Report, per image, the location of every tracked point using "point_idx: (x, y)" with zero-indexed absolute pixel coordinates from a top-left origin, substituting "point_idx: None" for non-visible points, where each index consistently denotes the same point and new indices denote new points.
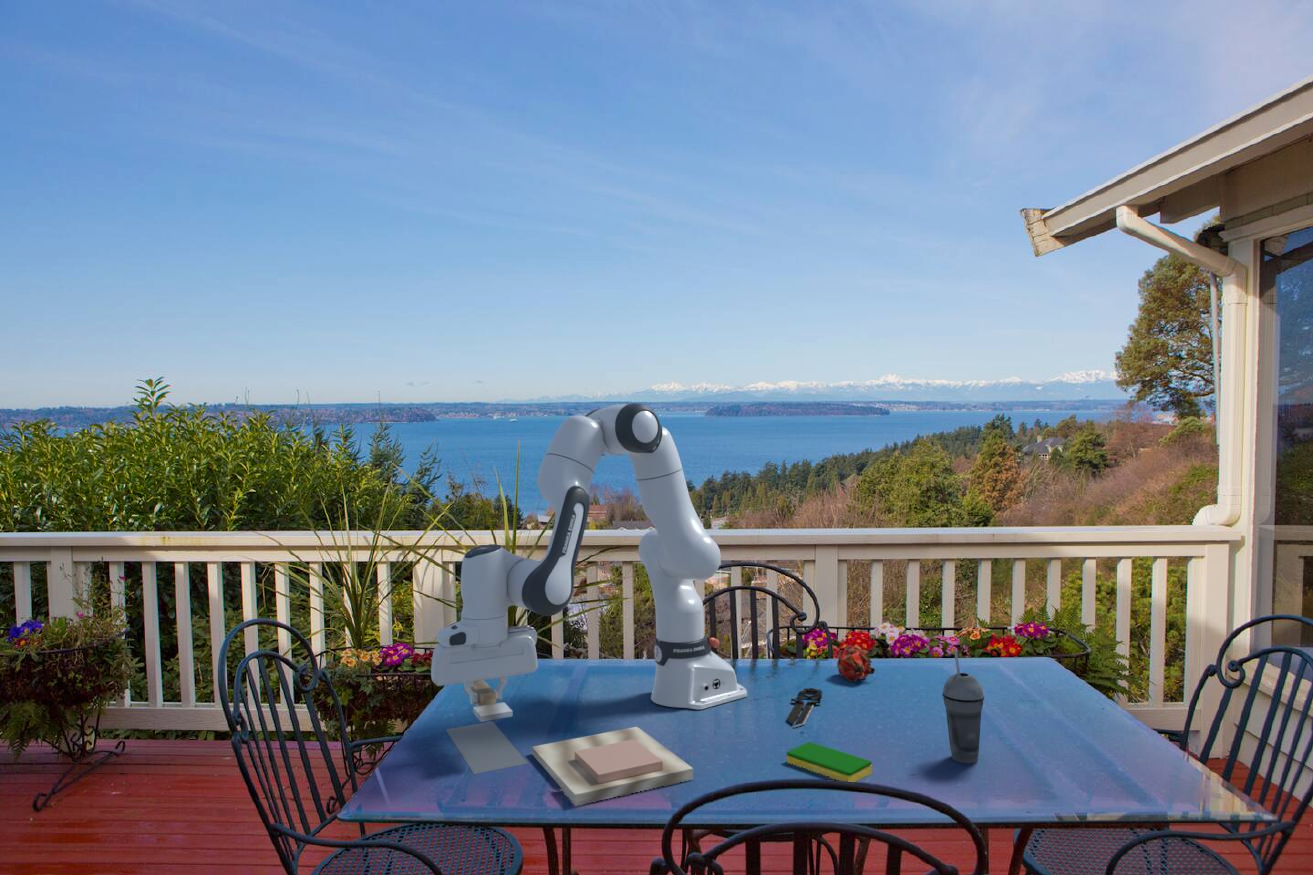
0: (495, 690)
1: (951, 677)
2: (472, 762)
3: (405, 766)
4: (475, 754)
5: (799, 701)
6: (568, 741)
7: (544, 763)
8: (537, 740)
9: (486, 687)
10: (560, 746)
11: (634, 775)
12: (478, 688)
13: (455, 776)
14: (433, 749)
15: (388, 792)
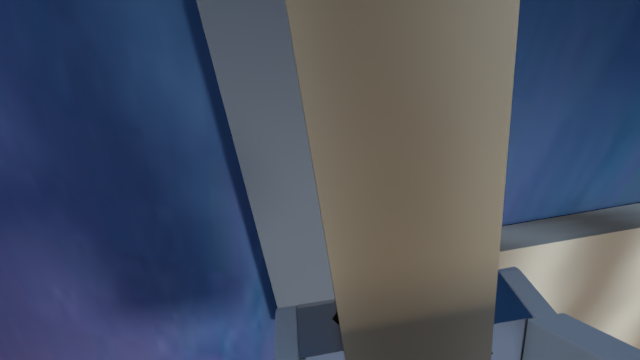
0: (506, 342)
1: None
2: (280, 246)
3: (18, 177)
4: (295, 181)
5: None
6: (630, 243)
7: None
8: (564, 75)
9: (454, 283)
10: (584, 273)
11: None
12: (371, 289)
13: (225, 298)
14: (99, 16)
15: (31, 347)
